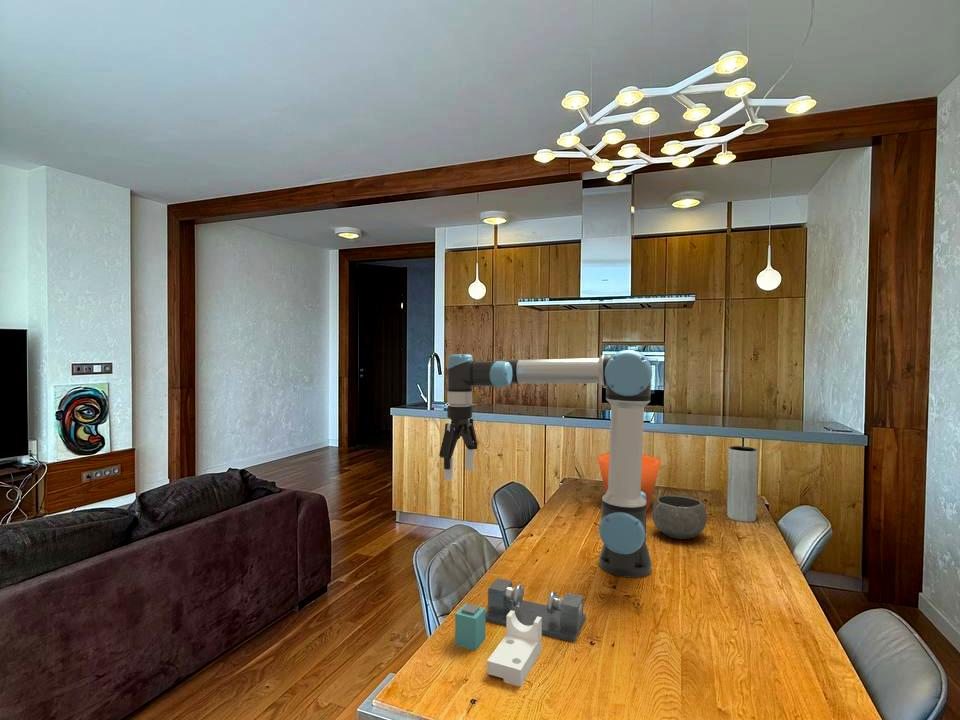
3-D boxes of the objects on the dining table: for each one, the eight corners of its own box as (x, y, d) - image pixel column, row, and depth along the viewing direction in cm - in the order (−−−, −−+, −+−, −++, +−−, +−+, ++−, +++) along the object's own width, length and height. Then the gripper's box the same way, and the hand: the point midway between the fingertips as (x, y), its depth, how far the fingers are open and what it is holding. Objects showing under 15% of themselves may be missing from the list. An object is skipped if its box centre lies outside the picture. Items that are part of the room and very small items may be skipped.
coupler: (485, 639, 115) (485, 605, 115) (475, 651, 110) (476, 616, 110) (465, 633, 117) (465, 600, 117) (455, 645, 112) (455, 610, 112)
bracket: (510, 644, 113) (510, 610, 113) (541, 651, 110) (541, 617, 110) (487, 678, 101) (487, 640, 101) (520, 688, 98) (520, 649, 98)
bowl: (649, 541, 174) (650, 504, 173) (653, 524, 190) (653, 490, 190) (707, 549, 167) (707, 510, 167) (705, 531, 184) (706, 496, 183)
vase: (757, 516, 200) (758, 447, 199) (755, 524, 191) (756, 452, 191) (728, 512, 205) (730, 445, 205) (725, 519, 197) (726, 449, 196)
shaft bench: (585, 618, 123) (586, 588, 123) (574, 642, 113) (575, 609, 113) (500, 599, 133) (501, 571, 132) (483, 620, 123) (483, 589, 122)
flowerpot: (669, 516, 199) (670, 466, 199) (604, 516, 200) (605, 465, 199) (649, 498, 224) (649, 453, 224) (591, 497, 225) (592, 452, 224)
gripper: (467, 400, 168) (467, 465, 169) (427, 408, 146) (427, 482, 146) (488, 402, 165) (487, 467, 165) (450, 410, 142) (450, 486, 143)
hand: (459, 474), depth 156 cm, fingers open, 13 cm apart
